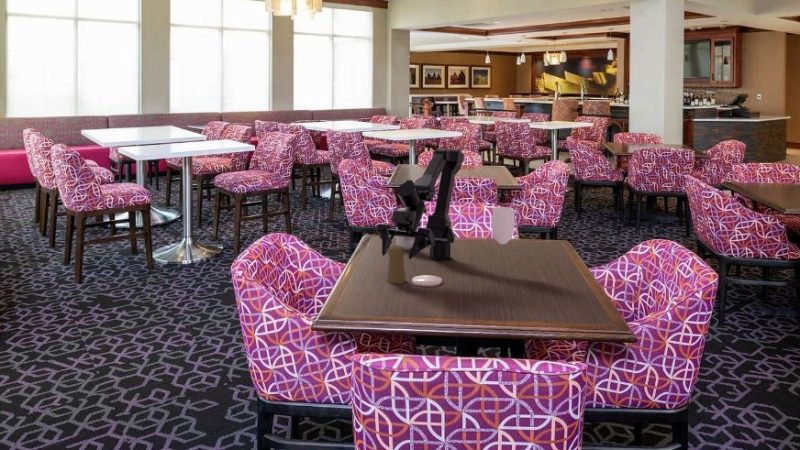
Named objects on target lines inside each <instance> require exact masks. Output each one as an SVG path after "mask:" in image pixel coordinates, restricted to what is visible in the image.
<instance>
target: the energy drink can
mask: <svg viewBox="0 0 800 450" xmlns="http://www.w3.org/2000/svg"><path fill="white" fill-rule="evenodd" d="M405 210H406V207H399V208H397V211H403V212H405ZM395 229H398V227H396V226H395ZM395 244H396V245H395V246H402V247H404V249H405V251H406V250H407V251H408V250H411V249H412V246H413V238H408V237H402V236H395Z"/></svg>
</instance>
